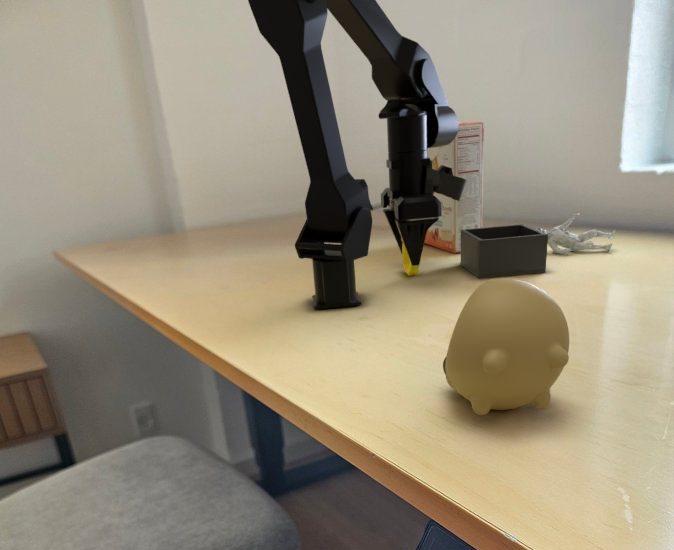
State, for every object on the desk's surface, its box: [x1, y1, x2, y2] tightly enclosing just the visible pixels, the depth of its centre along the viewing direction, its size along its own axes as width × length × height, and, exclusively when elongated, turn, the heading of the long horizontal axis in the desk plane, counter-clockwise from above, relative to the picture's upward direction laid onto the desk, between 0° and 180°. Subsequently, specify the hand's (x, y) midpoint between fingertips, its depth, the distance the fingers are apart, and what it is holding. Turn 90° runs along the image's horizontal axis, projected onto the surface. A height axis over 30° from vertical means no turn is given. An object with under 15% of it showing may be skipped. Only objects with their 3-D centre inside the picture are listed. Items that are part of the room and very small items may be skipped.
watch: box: [401, 238, 420, 277], centre depth 103 cm, size 6×3×6 cm, turn 7°
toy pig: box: [442, 277, 570, 416], centre depth 54 cm, size 10×12×11 cm
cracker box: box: [424, 121, 485, 254], centre depth 118 cm, size 14×6×21 cm, turn 17°
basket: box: [460, 223, 548, 280], centre depth 102 cm, size 11×10×6 cm
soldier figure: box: [537, 212, 616, 255], centre depth 110 cm, size 8×5×12 cm
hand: (410, 259), depth 103 cm, fingers open, 9 cm apart
